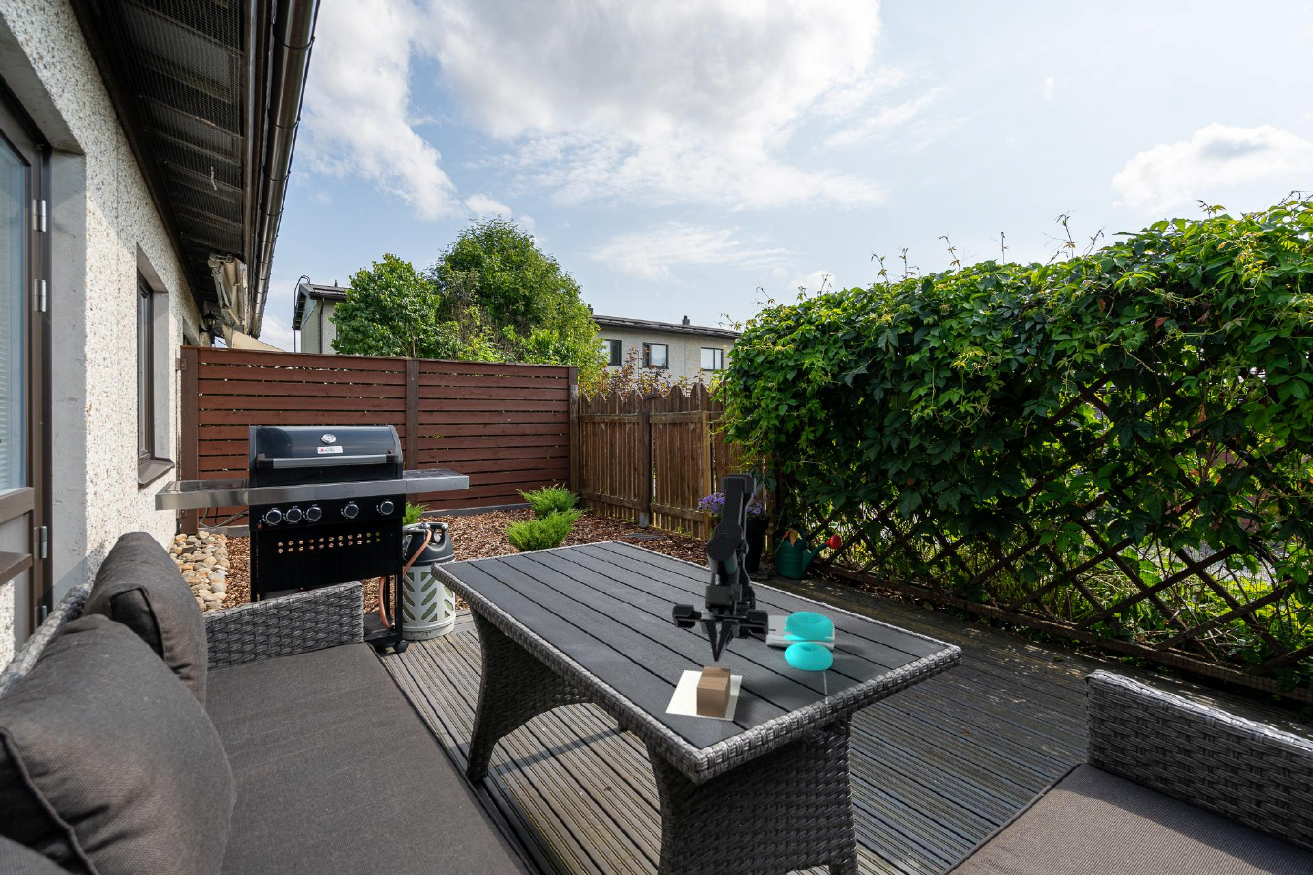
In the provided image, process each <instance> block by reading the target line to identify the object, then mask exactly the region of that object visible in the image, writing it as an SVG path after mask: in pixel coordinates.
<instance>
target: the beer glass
mask: <svg viewBox="0 0 1313 875" xmlns="http://www.w3.org/2000/svg"><path fill="white" fill-rule="evenodd" d="M788 616H789V615H781V614H780V615H776V614H775V615H769V614H768V618H769V634H768V635H766V636H765V645H767V646H773V647H780V648H786V649H787V648H788V647H789V646H791V645H793V644H795V643H799V642H811V643H816V644H819V645H822V646H824V647H825V648H827V649H828V650H829V651H830V650H831V651H833V650H834V648H835V637H836V636H835V635H836V634H835V632H836V631H835V624H834V623H835V622H834V621H832V623H833V631H832V633H831V634H830V635H829V636H827V637H825V638H822V639H816V640H810V639H803V638H800V637H797V636H795V635H793V634H791V633H790V632H789V631H788V629H787V628H786V625H785V622H786V619H787V617H788Z"/></svg>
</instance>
